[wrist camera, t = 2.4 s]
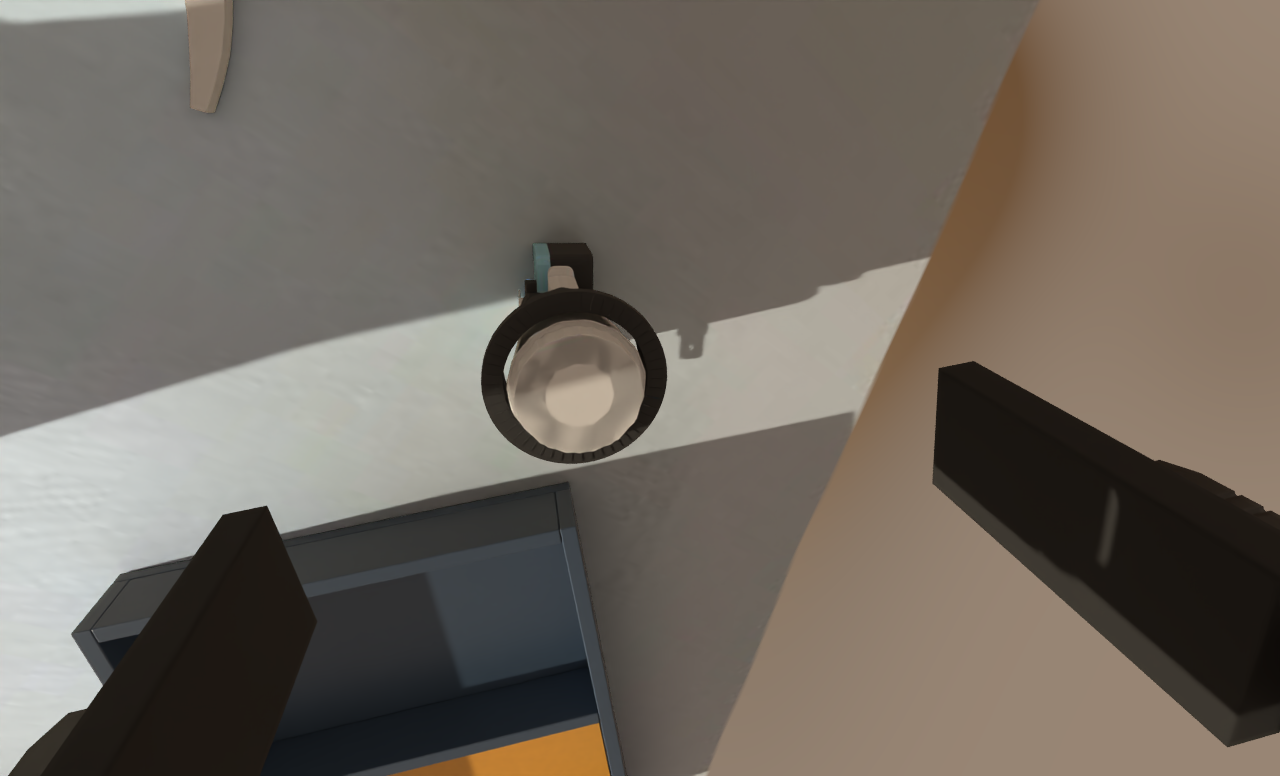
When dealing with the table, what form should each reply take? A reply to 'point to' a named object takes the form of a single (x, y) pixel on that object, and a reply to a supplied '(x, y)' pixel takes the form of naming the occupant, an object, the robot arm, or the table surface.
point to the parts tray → (428, 646)
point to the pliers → (208, 50)
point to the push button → (572, 365)
